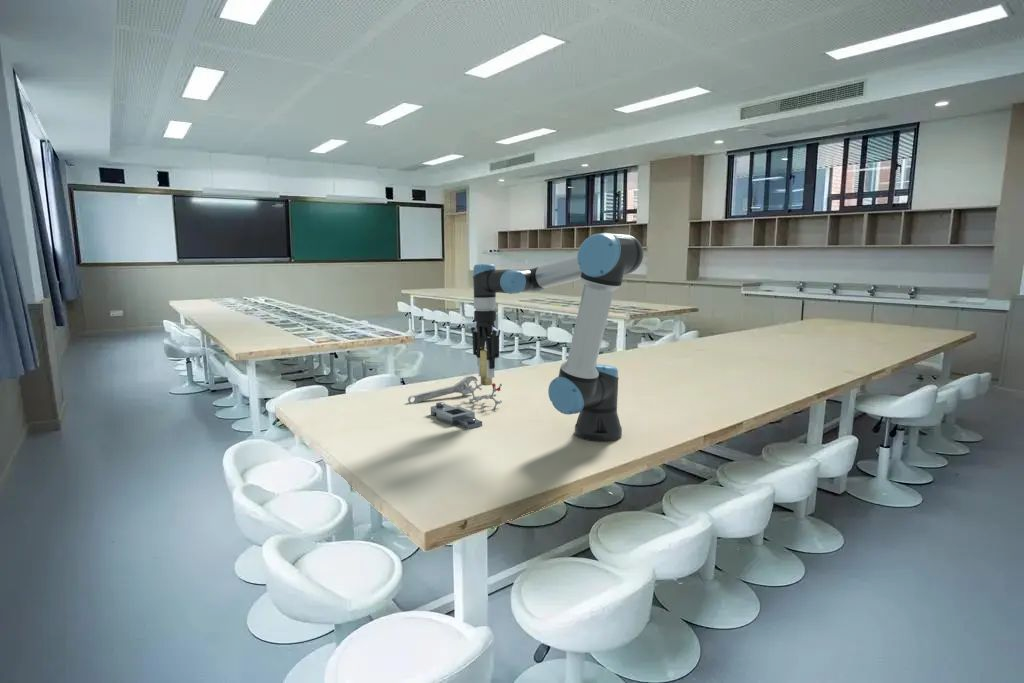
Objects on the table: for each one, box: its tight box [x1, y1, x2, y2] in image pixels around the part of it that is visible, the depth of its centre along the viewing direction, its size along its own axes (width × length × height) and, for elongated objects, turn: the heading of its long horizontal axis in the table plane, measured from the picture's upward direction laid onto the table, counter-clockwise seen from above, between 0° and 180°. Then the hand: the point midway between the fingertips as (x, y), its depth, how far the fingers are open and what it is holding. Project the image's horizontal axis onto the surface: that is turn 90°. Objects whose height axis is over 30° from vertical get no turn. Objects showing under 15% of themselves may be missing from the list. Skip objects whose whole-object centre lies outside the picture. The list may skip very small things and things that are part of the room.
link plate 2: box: [436, 413, 483, 430], centre depth 192 cm, size 16×10×2 cm, turn 41°
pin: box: [480, 348, 493, 386], centre depth 191 cm, size 4×4×12 cm
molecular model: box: [463, 381, 503, 410], centre depth 213 cm, size 19×10×10 cm, turn 34°
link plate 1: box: [430, 401, 476, 422], centre depth 197 cm, size 16×10×4 cm, turn 41°
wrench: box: [407, 375, 479, 404], centre depth 223 cm, size 8×2×30 cm
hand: (486, 376), depth 192 cm, fingers closed on pin, 4 cm apart
